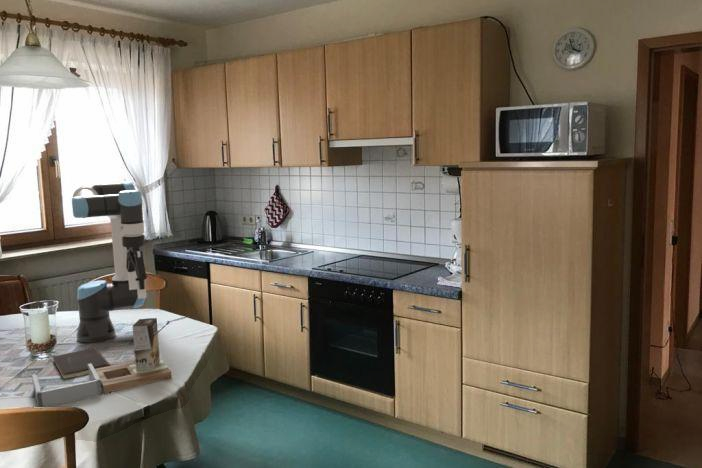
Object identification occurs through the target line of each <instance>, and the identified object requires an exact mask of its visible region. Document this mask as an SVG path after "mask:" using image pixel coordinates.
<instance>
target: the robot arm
mask: <svg viewBox="0 0 702 468" xmlns="http://www.w3.org/2000/svg"><path fill="white" fill-rule="evenodd" d="M71 209H72V215H73V217H74V218H76V219H81V218H82V219H86V218H97V217H108V218H109V219H110V220H109V221H110V230H111V242H112V253H113V264H114V265H113V266H114V275H113V276H112V278H111V282H109V283H108V282H107V280H104V279H102V280H94V281H90V282H86V283H84V284H81V285H80V286H79V287H78V288H77V290H76V291H77V292H76V293H77V294H76V295H77V298H76V299H77V306H78V307H77V308H78V316H79V322H78V327H77V330H76V331H77V332H76V341H78V342H80V343H97V342H103V341H106V340H110V339H112V338H114V337H115V336H116V328H115V326H114V324H113V322H112V319H111V317H110V312H112V311H113V312H114V311H120V310H121V311H122V310H129V309H131V310H132V309H136V308H141V307H142V306H143V305H144V303H145V299H147V288H146V287H147V286H146V285H147V284H146V280H147V279H148V278H147V273H146V272H147V271H146V268H145V262H144V255H143V251H142V250H140V248H141V247H143V246H145V245H146V239H145V234H144V233H145V224H144V223H145V222H144V216H143V215H144V214H143V198H142V192H141V191H140V190H139V189H138V190H136V187H135V185H134V183H133V182H131V181H127V180H126V181H125V180H120V181H119V180H118V181H106V182H105V181H103V182H92V183H91V182H90V183H88V184H84V185H82V186H80V187H78V188H77V189H76V190H75V191H74V193H72V198H71Z"/></svg>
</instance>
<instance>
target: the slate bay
mask: <svg viewBox="0 0 702 468" xmlns="http://www.w3.org/2000/svg"><path fill="white" fill-rule="evenodd" d="M88 373H89V374H88V379H89V381H85V382H79V383H74V384H69V385H64V386H60V387H55V388H51V389H46V390H45V389H44V390H41V388H40V387H41V386H40V383H39V379H38V376H37V373H35V374H32V375H31V378H32V386H33V391H34V392H33V393H34V396H35V400H36V403H37V408H38V407H45V408H48V407H53V406H59V405H62V404H67V403H72V402H75V401H76V402H77V401H81V400H85V399H88V398H89V399H90V398H94V397H98V396H102V395H103V390H102V388H101V380H100V378H99V376H98V374H97V373H96V371H95V369H94V367H93V365H92V364H91V363H90V364H88Z"/></svg>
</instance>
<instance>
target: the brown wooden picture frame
mask: <svg viewBox="0 0 702 468" xmlns="http://www.w3.org/2000/svg"><path fill="white" fill-rule="evenodd" d="M95 371H96V373H97V374H98V376H99V378H100V380H101V389H102V393H104V394H106V393H107V394H108V393H110V392H114V391H119V390H124V389H128V388H129V389H130V388H134V387H138V386H142V385H147V384H150V383H151V384H152V383H157V382H161V381H165V380H169V379H172V370H170V368H169V367H168V366H167V364H166V363H165V362H164V361H163V360H162V359H161V358H160V361H159V363H158V364H157V366H156V367H155V369H154V370H143V371H136V363H135V360H132V361H128V362H122V363H118V364H113V365H110V366H107V367H102V368H97V369H95Z"/></svg>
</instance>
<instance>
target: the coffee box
mask: <svg viewBox="0 0 702 468" xmlns="http://www.w3.org/2000/svg"><path fill="white" fill-rule="evenodd" d="M157 318H158V317H155V318H154V317H151V318H150V317H149V318H140V319H138V320H137V321H136V322H135V323H134V324H133V325H132V333H133V334H132V337H133V346H134V347H133V349H134V350H133V351H134V359H135V360H134V361H135V363H136V371H143V370H154V369H155V367H156V366H157V364H158V363H159V361H160V359H161V358H160V346H159V333H158V332H159V331H158V320H157Z"/></svg>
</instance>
